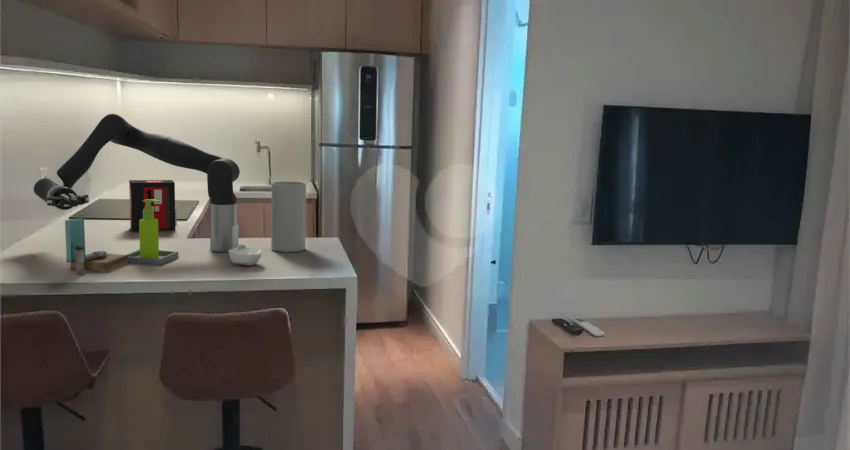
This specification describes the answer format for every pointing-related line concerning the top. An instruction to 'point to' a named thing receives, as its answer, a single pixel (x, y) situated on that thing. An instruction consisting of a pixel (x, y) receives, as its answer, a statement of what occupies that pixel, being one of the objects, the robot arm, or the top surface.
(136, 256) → the tray
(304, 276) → the top surface
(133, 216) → the cleaning product box
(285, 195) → the cylinder vase
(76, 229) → the teal upright panel
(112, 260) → the crank base
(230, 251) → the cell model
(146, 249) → the soap dispenser
